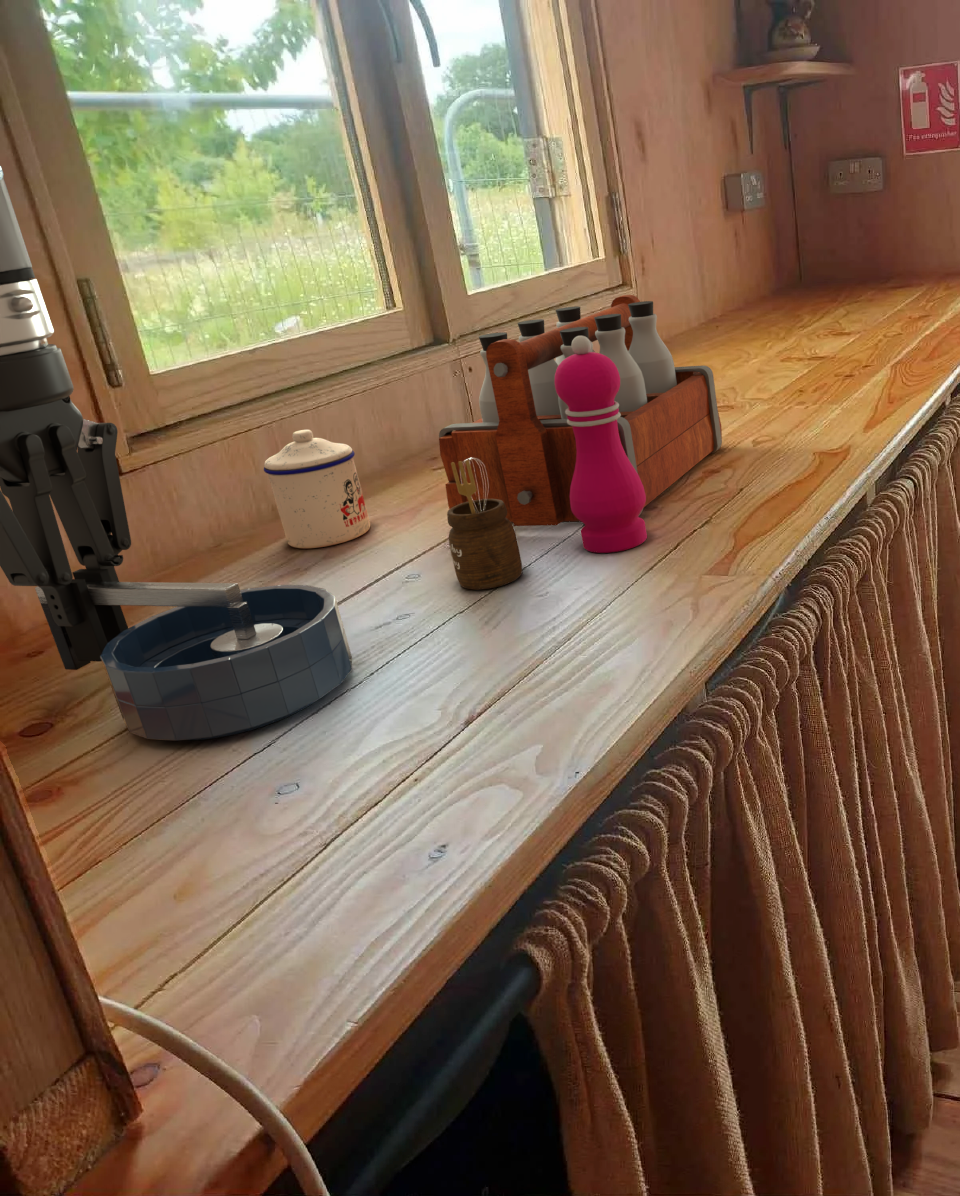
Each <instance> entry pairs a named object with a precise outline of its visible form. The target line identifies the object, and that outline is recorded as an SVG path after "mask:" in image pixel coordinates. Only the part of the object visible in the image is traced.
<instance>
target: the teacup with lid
mask: <svg viewBox="0 0 960 1196" xmlns="http://www.w3.org/2000/svg"><path fill="white" fill-rule="evenodd" d="M291 436H292V439H293V441H292V442H289V443H288V444H286V445H285V446H283V448H281V450H280V451H278V452H277V453H275V454H274V455H272V456H270V457H268V458H267V459H266V460H265V461H264V464H263V472H264V473H266V475H267V477H268V481H269V484H270V488H271V491H272V495H273V498H274V502H275V506H276V508H277V512H278V515H279V519H280V523H281V526H282V529H283V533H284V536H285V540H286V543H287V544H288V545H289V546H290V547H292V548H295V549H317V548H323V547H324V548H326V547H330V546H336V545H338V544H343V543H346V542H349V541H351V540H354V539H357V538H358V537H360V536H363V535H364V534H366V533H367V532H368V531H369V530H370V528H371V521H370V517H369V514H368V510H367V506H366V501H365V499H364V494H363V489H362V486H361V483H360V479H359V475H358V471H357V467H356V464H355V460H354V457H355V451H354V450H353V448H352V447H351V446H350V445H348V444H346V443H342V442H341V443H340V442H333V441H329V440H328V439H326V438H322V437H314V433H313V431H312V430H311V429H300V430H296V431H294V432H292V435H291Z"/></svg>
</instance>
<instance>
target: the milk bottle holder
mask: <svg viewBox="0 0 960 1196" xmlns="http://www.w3.org/2000/svg"><path fill="white" fill-rule="evenodd" d="M555 313H556V317H557V320H558V321H556V327H555V328H554V329H551V330H548V331H546V332H545V319H543V318H542V319H541V318H539V319H530V320H523V321H519V322H517V323H516V324H517V327H518V330H519V332H520V335H519V336H518V341H517V340H516V339H511V338H508V333H507V332H503V331H502V332H492V333H486V334H482V335H479V336H478V339H479V342H480V345H481V348H482V349H481V350H480V351H479V352H480V353H479V354H480V356H481V358H482V360H483V363H484V365H485V375H484V379H483V382H482V385H481V389H480V391H479V397H478V404H479V405H478V406H479V411H480V416H481V418H479V419H477V420H475V421H473V422H465V423H464V422H463V423H452V424H450V425H447V426H445V427H443V428H441V429H440V431H439V433H438V443H439V452H440V453H439V455H440V459H441V461H442V465H443V468H444V472H445V474H446V478H447V481H448V482H446V483H445V484H444V485H445V491H446V498H447V505H448V510H449V509H451V508H452V507H454V506H456V505H459V504H461V503H465V502H468V498H467V497H466V496H464V495H461V494H459V492H458V488H457V485H456V481H455V477H454V473H453V470H452V466H451V463H452V462H454V463H455V466H456V470H457V473H458V477H459V481H460V484H464V483H463V479H462V475H461V477H460V473H461V471H460V468H459V464H458V462H459V461H461V462H463V461H464V460H466V459H468V458H471V459H472V458H477V460H476V459H475V460H474V459H472V460H471V459H468V460H469V462H470V466H471V470H472V474H473V477H474V481H475V485H476V489H477V490H476V492H475V493H476V495H475V493H474V494H472V495H471V496H472V497H471V498H472V499H473V500H479V498H480V499H483V498H484V499H499V500H502V501H503V502H504V504H505V506H506V509H507V516H506V517H505V518H507V519H508V520H510V522H511V523H512V525H513V527H542V526H543V527H544V526H550V527H551V526H558V525H560V524H562V523H563V524H565V523H567V524H569V523H570V524H571V523H582V522H581V521H580V520H579V519H578V518H577V517H576V516H575V515H574V514H573V512H572V510H571V505H570V486H571V482H572V478H573V474H574V470H575V465H576V455H577V450H576V439H575V435H574V431H573V427H572V426H571V425H569V424H568V423H567V420H568V418H567V416H568V415H566V413H565V411H566V409H567V408H569V407H568V405H567V404H566V403H565V402H564V401H563V400H562V399H560V397H559V396H558V394H557V392H556V389H555V382H554V381H555V373H556V369H557V367H558V366H559V364H560V363H561V362H562V361H563V360H564V359H566V358H567V357H569V356H571V355H574V354H576V353H574V351H573V350H572V346H571V344H572V341H573V339H574V338H575V337H577V336H585V337H587V338H588V339H589V340H590V343H591V349H590V351H589V352H595V353H596V351H595V350H594V343H593V342H596V341H597V342H598V345H599V353H600V354H603V355H605V356H607V357H608V358H610V359H611V360H612V361H613V363H614V364H615V365H616V367H617V369H618V372H619V376H620V388H619V391H618V392H617V394H616V396H615V398H614V401H616V402H618V403H619V407H618V409H619V412H620V414H621V416H620V418H618V419H617V425H618V433H619V437H620V441H621V444H622V447H623V449H624V452H625V454H626V455H627V457H628V459H629V461H630V462H631V464H632V466H633V467H634V469H635V470H636V472H637V473H638V475H639V477H640V480H641V482H642V484H643V487H644V491H645V495H646V502H645V505H644V507H643V509H642V510H641V512H640V514H639V515H638V517H640V516H641V514H642V513H643V510H644V508H645V507H647V506H648V505H649V504H650V503H651V502H653V500H655V499H656V498H657V497H659V496H660V495H661V494H662V493H663V492H664V491H666V490H667V489H668V488H670V487H671V486H672V485H673V484H674V483H675V482H677V481H678V480H679V479H681V478H682V477H683V476H684V475H685V474H687V472H689V471H690V470H691V469H692V468H693V467H695V466H696V465H697V464H698V463H700V461H702V460H703V459H704V458H706V457H707V456H708V455H712V454H715V453H716V452H717V451H718V450H720V448H721V447H722V445H723V434H722V433H723V431H722V422H721V418H720V414H719V410H718V401H717V393H716V386H715V377H714V372H713V370H712V368H710V367H709V366H708V365H705V364H703V365H686V366H675V361H674V357H673V355H672V353H671V351H670V350H669V348H668V347H667V345H666V343H665V342H664V341H663V340H662V338H661V337H660V335H659V333H658V329H657V320H658V316H657V314H656V313H654V301H652V300H646V301H645V300H644V301H641V300H640V299H639V297H637V296H635V295H633V294H623V295H620V296H617V297H615V298H614V299H612V301H611V304H610V307H608V308H606V309H603V310H601V311H599V312H596V313H593V314H591V315H588V316H585V317H583V318H581V315H582V314H581V313H582V312H581V306H566V307H560V308H557V309H555ZM478 459H479V460H478ZM472 461H473V463H472ZM476 461H477V462H478V463H477V462H476ZM465 462H466V461H464V462H463V463H464V465H463V468H464V472H466V478H467V482H468V483H471V481H470V477H469V473H468V470H467V466H466V464H465ZM463 463H462V464H463ZM480 463H481V464H480ZM478 464H479V465H478ZM483 464H484V465H483ZM473 465H474V467H473ZM481 465H482V466H481ZM479 466H480V467H479ZM484 466H485V467H484ZM482 467H483V469H482ZM474 469H475V472H474ZM480 469H481V471H480ZM485 469H486V470H485ZM483 471H484V473H483ZM481 473H482V475H481ZM486 473H487V475H486ZM475 474H476V477H475ZM484 475H485V478H484ZM487 477H488V480H487ZM482 478H483V480H482ZM476 479H477V482H476ZM461 480H462V483H461ZM485 481H486V485H485ZM483 483H484V488H483ZM488 484H489V490H488ZM477 485H478V488H477ZM478 491H479V494H478ZM485 493H486V498H485ZM487 494H488V497H487ZM476 497H477V499H476ZM473 500H472V501H473Z"/></svg>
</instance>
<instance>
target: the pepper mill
mask: <svg viewBox="0 0 960 1196" xmlns="http://www.w3.org/2000/svg"><path fill="white" fill-rule="evenodd" d="M571 346H572V350H573V351H574V353H576V354H574V355H571V356H569V357H567V358H566V359H564V360H563V361H562V362H561V363H560V364H559V366H558V367H557V369H556V373H555V381H554V382H555V389H556V392H557V394H558V396H559V397H560V399H562V400H563V401H564V402H565V403H566V404H567V405H568V407H569V408H567V409H566V411H565V413H566V415H568V416H567V418H568V420H567V423H568V424H569V425H571V426H572V427H573V431H574V435H575V439H576V450H577V455H576V465H575V470H574V474H573V478H572V482H571V486H570V505H571V510H572V512H573V514H574V515H575V516H576V517H577V518H578V519H579V520H580V521H581V522H580V523H582V524H584V526H583V527H581V529H580V537H581V543H582V548H583V549H585V550H586V551H587V552H590V553H595V554H596V553H597V554H609V553H611V554H612V553H619V552H623V551H627V550H630V549H634V548H635V547H638V546H640V545H642V544H643V543H644V542H646V540H647V538H648V534H647V528H646V522H645V520H644V519H643V518H641V517H640V515H641V514H640V512H641V510H642V509H643V510H644V508H645V507H644V505H645V502H646V495H645V491H644V487H643V484H642V482H641V480H640V477H639V475H638V473H637V472H636V470H635V469H634V467H633V466H632V464H631V462H630V461H629V459H628V457H627V455H626V454H625V452H624V449H623V447H622V444H621V441H620V437H619V433H618V425H617V419H618V418H620V416H621V414H620V412H619V409H618V407H619V403H618V402H616V401H614V398H615V396H616V394H617V392H618V391H619V388H620V376H619V372H618V369H617V367H616V365H615V364H614V363H613V361H612V360H611V359H610V358H608V357H607V356H605V355H603V354H600V353H598V352H596V351H595V352H589V351H590V349H591V343H590V340H589V339H588V338H587V337H585V336H577V337H575V338H574V339H573V341H572V344H571ZM643 507H644V508H643ZM639 514H640V515H639ZM638 515H639V516H638Z"/></svg>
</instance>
